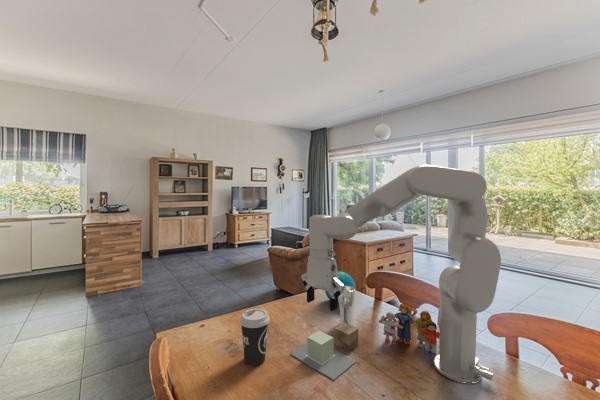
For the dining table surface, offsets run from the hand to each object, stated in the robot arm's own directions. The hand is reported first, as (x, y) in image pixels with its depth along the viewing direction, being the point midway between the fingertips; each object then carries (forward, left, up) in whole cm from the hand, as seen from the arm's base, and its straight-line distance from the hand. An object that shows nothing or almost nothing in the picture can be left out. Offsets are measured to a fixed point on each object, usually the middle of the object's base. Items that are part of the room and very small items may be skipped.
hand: (321, 305), depth 89 cm
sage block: (0, 0, -17) cm, 17 cm away
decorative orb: (+21, -40, -17) cm, 48 cm away
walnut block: (-2, -12, -17) cm, 21 cm away
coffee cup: (+14, +16, -17) cm, 28 cm away
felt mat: (-1, 0, -17) cm, 17 cm away
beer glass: (+6, -24, -17) cm, 30 cm away
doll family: (-18, -29, -18) cm, 38 cm away
